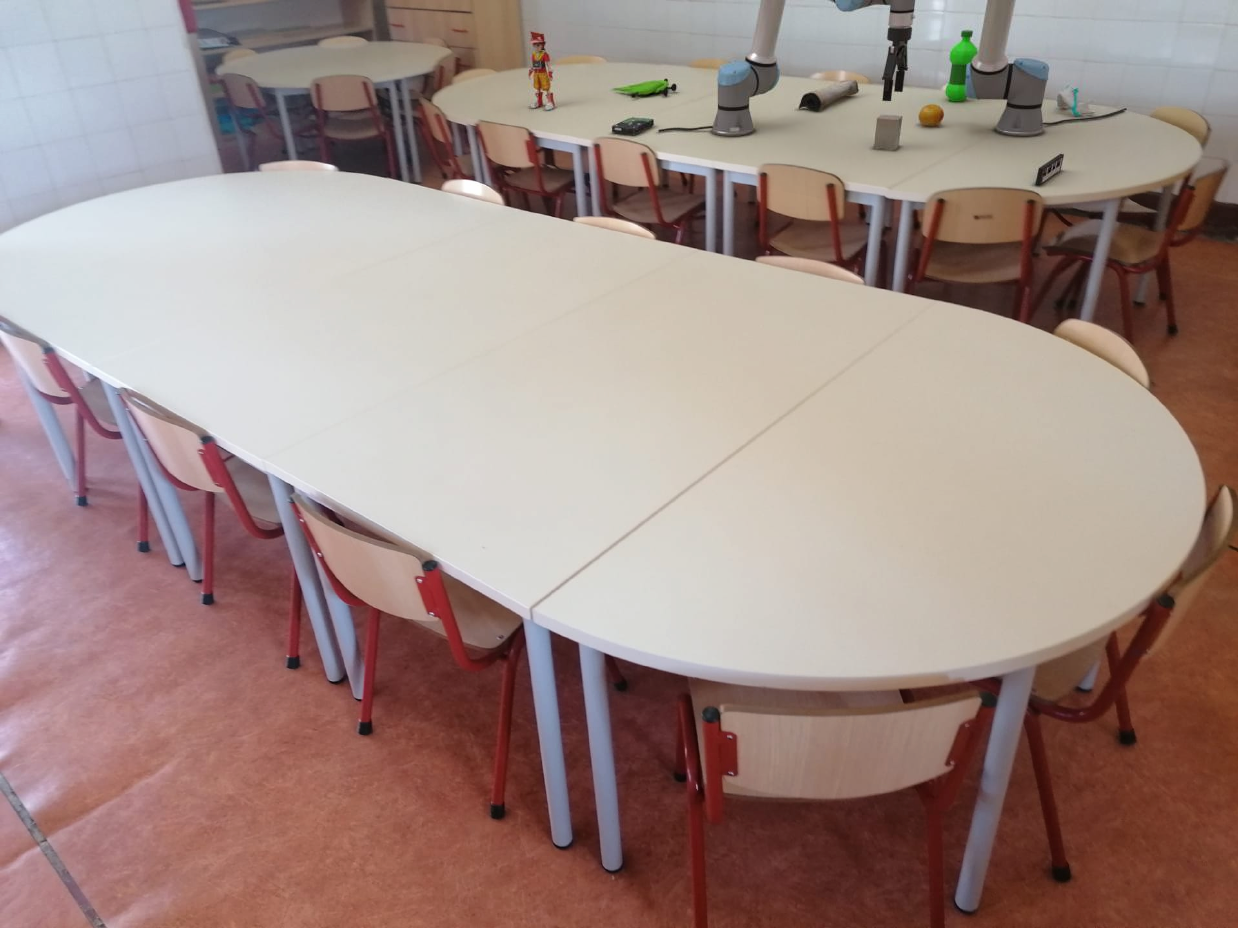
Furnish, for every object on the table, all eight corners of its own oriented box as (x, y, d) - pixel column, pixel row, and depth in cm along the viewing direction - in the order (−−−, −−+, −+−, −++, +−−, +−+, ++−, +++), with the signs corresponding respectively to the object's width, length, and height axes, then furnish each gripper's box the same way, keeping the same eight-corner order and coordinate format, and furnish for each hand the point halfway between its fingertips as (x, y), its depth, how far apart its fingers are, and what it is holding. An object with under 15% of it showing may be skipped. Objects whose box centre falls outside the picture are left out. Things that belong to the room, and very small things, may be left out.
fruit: (913, 117, 326) (928, 97, 323) (915, 120, 333) (929, 101, 330) (933, 130, 324) (947, 110, 321) (933, 133, 332) (948, 113, 329)
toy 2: (686, 85, 398) (631, 84, 414) (685, 72, 395) (629, 72, 411) (651, 104, 381) (596, 103, 397) (650, 92, 378) (594, 91, 394)
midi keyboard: (1039, 185, 269) (1043, 168, 266) (1035, 184, 270) (1038, 168, 267) (1060, 170, 279) (1064, 154, 277) (1056, 169, 280) (1060, 153, 277)
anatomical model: (1050, 84, 335) (1077, 77, 334) (1049, 112, 341) (1076, 105, 340) (1070, 94, 323) (1098, 86, 322) (1069, 123, 328) (1096, 115, 328)
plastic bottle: (975, 99, 356) (987, 30, 342) (958, 104, 351) (969, 35, 337) (955, 95, 363) (965, 28, 349) (937, 100, 358) (947, 32, 344)
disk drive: (634, 136, 338) (654, 126, 348) (634, 128, 336) (654, 118, 346) (611, 133, 343) (631, 123, 353) (611, 126, 341) (631, 116, 351)
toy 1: (525, 109, 381) (517, 32, 364) (534, 104, 388) (527, 28, 371) (550, 110, 377) (543, 32, 360) (559, 105, 384) (553, 28, 367)
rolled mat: (834, 85, 375) (850, 69, 367) (846, 103, 376) (863, 88, 367) (794, 103, 358) (811, 87, 350) (807, 122, 358) (824, 107, 350)
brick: (873, 148, 309) (877, 118, 304) (878, 144, 313) (881, 114, 307) (894, 150, 306) (898, 120, 300) (898, 146, 310) (902, 116, 304)
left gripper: (901, 34, 277) (893, 105, 289) (922, 20, 295) (913, 88, 307) (877, 33, 281) (870, 104, 293) (899, 20, 298) (892, 87, 310)
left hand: (892, 96), depth 300 cm, fingers open, 13 cm apart
